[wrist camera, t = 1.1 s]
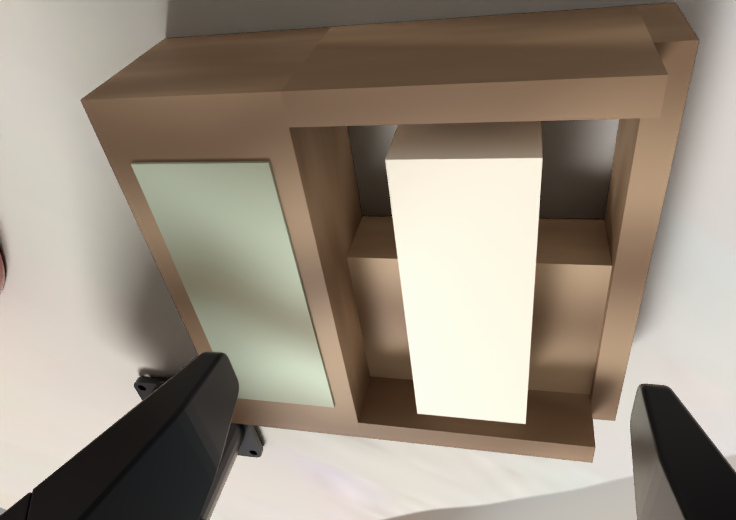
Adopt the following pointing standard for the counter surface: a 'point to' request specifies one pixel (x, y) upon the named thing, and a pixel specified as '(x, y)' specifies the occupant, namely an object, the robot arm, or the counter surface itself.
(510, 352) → the cream slat
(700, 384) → the counter surface
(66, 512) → the robot arm
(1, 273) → the canister
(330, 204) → the walnut pocket board
